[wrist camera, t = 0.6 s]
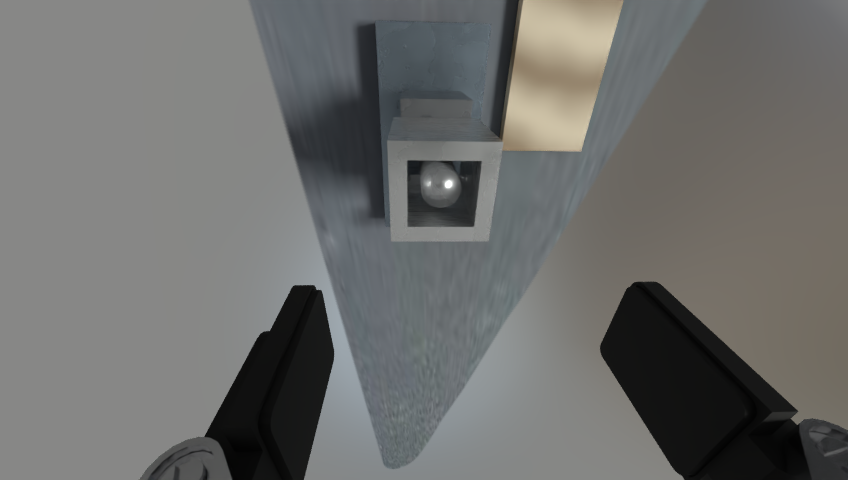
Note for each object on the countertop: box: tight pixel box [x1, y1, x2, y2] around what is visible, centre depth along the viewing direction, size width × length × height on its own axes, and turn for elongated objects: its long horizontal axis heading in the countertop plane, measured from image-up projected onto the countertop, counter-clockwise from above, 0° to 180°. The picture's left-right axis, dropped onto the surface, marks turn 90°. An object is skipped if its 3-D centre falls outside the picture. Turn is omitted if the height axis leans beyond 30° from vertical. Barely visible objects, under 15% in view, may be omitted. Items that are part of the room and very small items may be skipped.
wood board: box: [499, 0, 624, 151], centre depth 27 cm, size 14×8×1 cm, turn 179°
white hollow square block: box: [387, 117, 503, 241], centre depth 20 cm, size 6×6×7 cm
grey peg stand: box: [375, 21, 491, 226], centre depth 24 cm, size 18×9×14 cm, turn 179°
